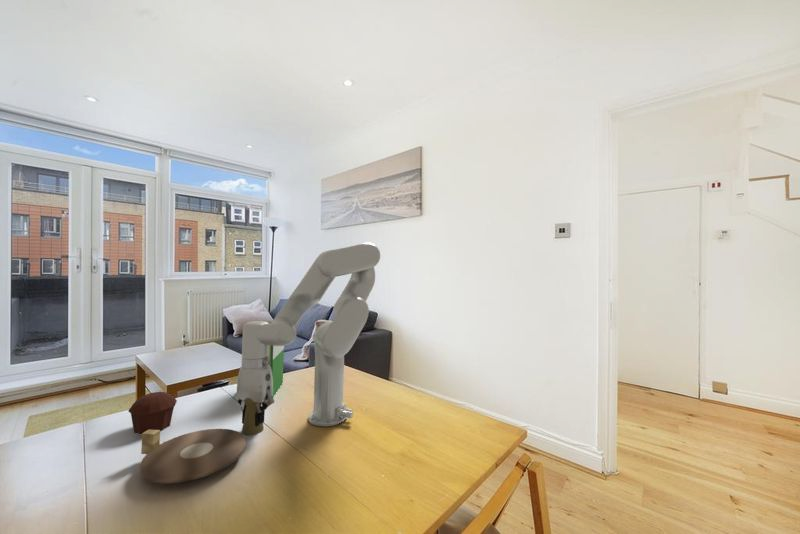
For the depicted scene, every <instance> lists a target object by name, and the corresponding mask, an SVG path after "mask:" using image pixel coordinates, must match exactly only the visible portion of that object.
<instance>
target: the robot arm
mask: <svg viewBox="0 0 800 534" xmlns="http://www.w3.org/2000/svg"><path fill="white" fill-rule="evenodd" d="M380 260H381V251H380V249H379V247H378V246H377V245H375V244H374V243H371V242H364V243H363V242H362V243H359V244H354V245H351V246H346V247H341V248H336V249H329V250H326V251H322V252H321V253H320V254H319V255H318V256H317V257H316V259H315V260H314V261H313V263H312V265H311V266H310V268H309V269H308V270H307V271H306V273H305V274H304V276H303V278H302V279H301V280H300V282H299V283H298V285H297V286H296V287H295V289H294V290H293V291H292V293H291V295H290V296H289V298H287V300H286V301H285V302H284V303H283V305H282V307H281V309H279V311H278V312H277V314H276V315H275V317H274V318H273V320H272V321H271V323H269V322H268V321H265V320H253V321H251V320H250V321H247V322H245V323H244V324H243V326H242V339H241V340H242V341H241V342H242V344H241V366H240V367H239V370H238V374H237V375H238V376H237V382H236V392H235V394H234V395H233V398H234V399H235V400H236V401H237V403H238V404H239V406H240V410H241V411H242V412H241V415H242V416H241V423H242V424H243V422H244V416H245V410H246V405H245V402H244V400H245V399H246V398H250V399H252V400H253V402H257V403H256V406H257V413H255V426H259V424H260V423H261V424H262V423H263V424H264V422H265V413H266V412H265V411H266V410H267V409H268V408H269V407H270V406H271V405H273V404H274V403H275V399H274V397H273V377H272V370H271V366H268V365H270V364H271V361H270V360H269V345H272V346H284V347H286V346H289V345H291V344H292V343H293V342H294V341H295V340H296V338H297V329H296V327H297V325H298V324H299V322H300V321H301V319H302V318H303V316H304V315H305V314H306V313H307V312H308V311H309V310H310V309H311V308H313V307H315V305H317V304H318V303H319V302H320V301H321V300H322V298H323V297H324V295H325V294H326V291H327V290H328V289H329V287H330V286H331V284H332V283H333V282H334V280H335V279H336V277H340V276H347V275H350V274H351V276H350V278H349V280H348V281H347V284H346V285H345V287H344V289H343V291H342V292H341V294H340V295H339V297H338V299H337V300H336V302H335V303H334V306H333V313H334V318H333V320H332V321H327V322H324V323H321V324H320V325H319V326H318V327H317V329H316V331H315V333H314V387H313V410H312V411H310V413H308V417H307V420H308V422H309V423H310V424H311V425H314V426H318V427H334V426H337V425H339V423H340V424H342V423H344V422H345V421H346V420H347V419H353V416H354V411H353V410H354V409H353V408H347V406H346V405H347V404H346V402H344V379H345V355H346V354H348V353H349V351H350V350H351V349H352V348H353V346H354V344H355V342H356V340H357V339H358V337H359V336H360V333H361V332H362V330H363V328H364V327H365V325H366V323H367V320H368V318H369V313H370V312H369V311H370V309H369V305H368V303H367V302H366V301H367V300H368V298H369V297H370V293H372V290H373V289H374V285H375V281H376V271H375V267H376V266H377V265H378V263H379V262H380ZM345 419H346V420H345ZM344 420H345V421H344ZM341 422H342V423H341Z"/></svg>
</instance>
